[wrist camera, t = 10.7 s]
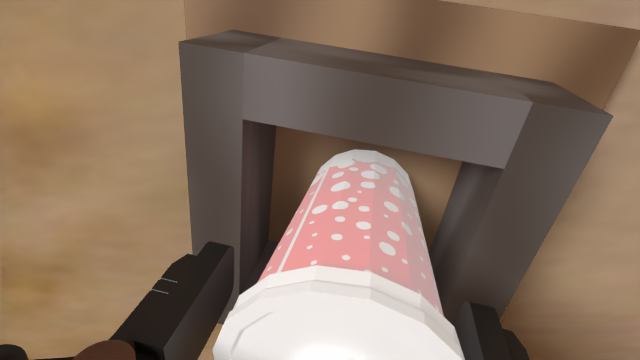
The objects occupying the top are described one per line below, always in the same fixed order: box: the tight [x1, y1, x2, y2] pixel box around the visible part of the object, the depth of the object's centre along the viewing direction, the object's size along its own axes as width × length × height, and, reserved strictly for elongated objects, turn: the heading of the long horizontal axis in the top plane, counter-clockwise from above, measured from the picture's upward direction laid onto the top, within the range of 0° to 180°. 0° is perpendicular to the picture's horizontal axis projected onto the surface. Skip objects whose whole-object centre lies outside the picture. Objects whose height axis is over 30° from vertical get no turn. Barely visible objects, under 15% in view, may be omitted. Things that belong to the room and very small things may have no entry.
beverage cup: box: [213, 149, 465, 360], centre depth 10 cm, size 6×6×14 cm
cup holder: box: [179, 0, 640, 325], centre depth 15 cm, size 16×16×5 cm
